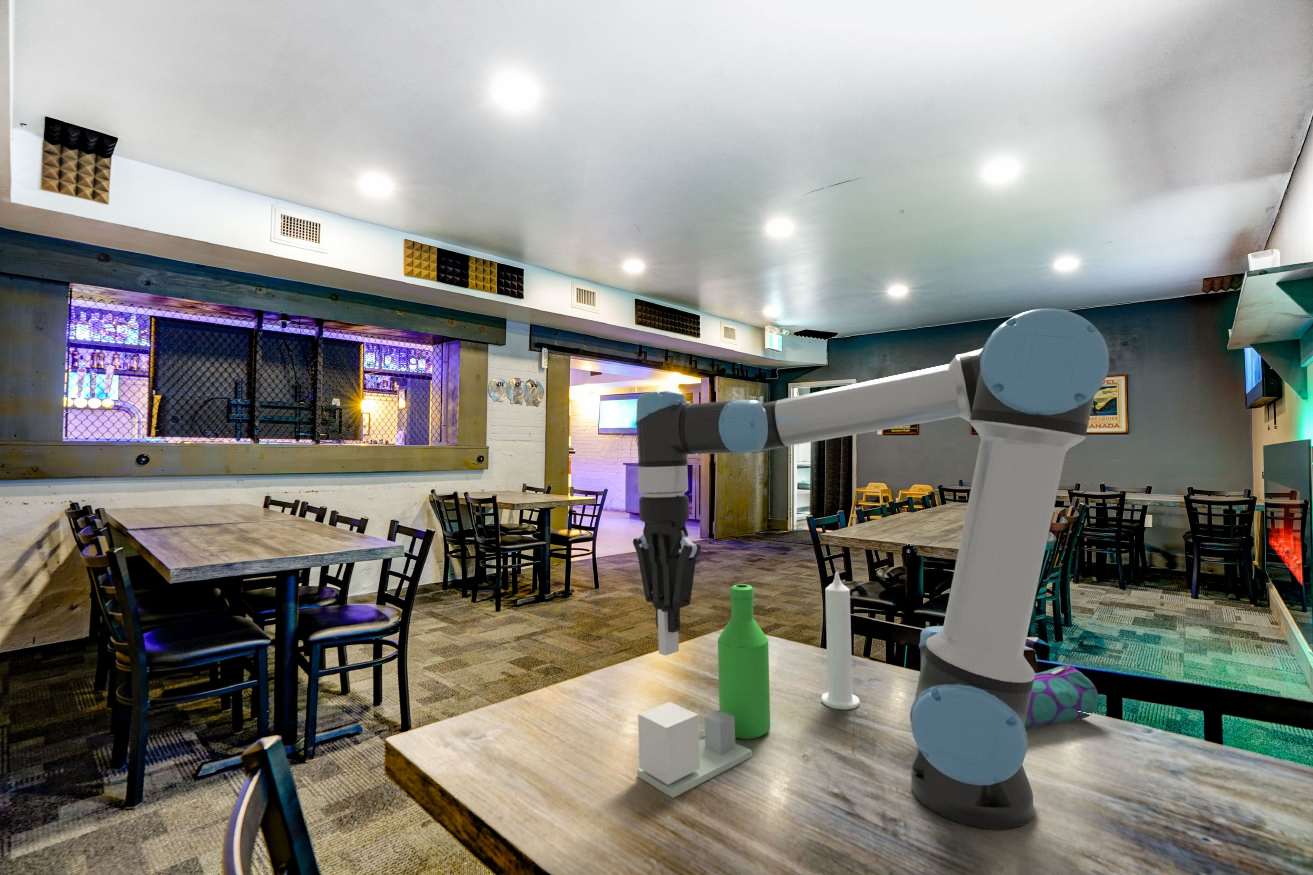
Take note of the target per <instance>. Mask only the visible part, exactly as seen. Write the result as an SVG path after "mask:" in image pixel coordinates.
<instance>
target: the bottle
mask: <svg viewBox="0 0 1313 875" xmlns="http://www.w3.org/2000/svg"><path fill="white" fill-rule="evenodd" d="M729 592H730V593H729V596H730V601H731V602H730V608H731V618H730V620H729V621H728V623H727V624H726V626H725V628H724V629H723V630H722V632H721V633H720V635H719V636H718V639H717V662H718V665H717V666H718V668H717V669H718V702H719V703H718V705H719V709H718V711H719V710H720V711H722V712H724V713H727V714H729V715H732V716H734V717H735V739H736V738H737V739H742V740H752V739H757V738H759V737H762V736H763V735H765V734H766V733H767V732H768V731H769V730H770V729H771V707H770V706H771V705H770V704H771V701H770V700H771V699H770V698H771V695H770V657H769V656H770V655H769V639H768V637H767V635H766V634H765V633H764V631H763V629H761V627H760V625H759V624H758V623H757V621H756V620H755V617H754V597H755V592H754V588H753V586H751V585H749V584H743V583H742V584H735V585H732V586H731V587H730V591H729Z"/></svg>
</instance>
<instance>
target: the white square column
mask: <svg viewBox="0 0 1313 875" xmlns="http://www.w3.org/2000/svg"><path fill="white" fill-rule="evenodd" d="M637 715H638V716H637V718H638V719H637V720H638V723H637V724H638V725H637V726H638V763H639V764H638V767H639V768H640V769H642V770H644V771H646V772H647V773H649V774H651V775H652V776H654V777H656V778H657V779H659V780H661V781H662V782H664V783H666V784H667V785H668V784H670V783H672V782H674V781H676V780H678V779H680V778H682V777H684V776H686V775H688V774H690V773H692V772H694V771H696V770H698V769H700V760H699V741H700V725H699V724H700V723H699V722H700V720H699V718H700V717H699V714H698V713H696V712H693V711H691V710H689V709H687V708H684V707H682V706H679V705H678V704H675V703H673V702H671V701H668V702H666V703H662V704H661V705H658V706H656V707H653V708H649V709H648V710H646V711H642V712H639V713H638V714H637ZM639 768H638V769H639Z"/></svg>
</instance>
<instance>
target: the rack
mask: <svg viewBox="0 0 1313 875" xmlns="http://www.w3.org/2000/svg"><path fill="white" fill-rule="evenodd" d="M752 757H753V754H752V750H751V749H750V748H748V747H745V746H743V745H741V744H739V743H736V737H735V717H734V716H732V715H729V714H727V713H724V712H722V711H720V710H719V709H718V710H717V711H715V712H711V713H709V714H706V715H705V716H704V738H703V739H699V760H700V769H698V770H696V771H694V772H692V773H690V774H688V775H686V776H684V777H682V778H680V779H678V780H676V781H674V782H672V783H670V784H668V785H667V784H666V783H664V782H662V781H661V780H659V779H657V778H656V777H654V776H652V775H651V774H649V773H647V772H646V771H644V770H642V769H640V768H637V769H636V772H637V774H636V775H637V777H638V778H639V779H641V780H643V781H644V782H647V783H648V785H649V784H650V785H652V786H653V787H655V788H656V789H658V790H659V791H661V792H662V793H665V794H666V795H667V796H669V797H670V798H671V799H674V798H676V797H678V796H680V795H681V794H684V793H685V792H688V791H689V790H691V789H693V788H695V787H697V786H699V785H701V784H703V783H704V782H707V781H708V780H710V779H712V778H714V777H716V776H719V775H720V774H723V773H724V772H726V771H727V770H730V769H732V768H733V767H735V766H737V765H739V764H741V763H743V762H745V761H746V760H749V759H751V758H752Z"/></svg>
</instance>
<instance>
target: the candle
mask: <svg viewBox="0 0 1313 875" xmlns="http://www.w3.org/2000/svg"><path fill="white" fill-rule="evenodd" d="M824 590H825V595H824V596H825V623H826V624H825V627H826V631H825V632H826V654H827V655H826V657H827V659H826V660H827V661H826V663H827V664H826V665H827V669H826V670H827V692H824V693H823V694H821V696H820V697H821V702H822V703H823V704H824V705H825V706H826V707H829V708H831V709H835V710H836V709H837V710H842V711H843V710H847V711H848V710H853V709H856V708H858V707H859V706H860V699H859V697H858V696H857V695H855V694H853V666H852V665H853V663H852V658H853V657H852V634H851V633H852V630H851V626H852V625H851V597H850V596H851V594H850V593H851V592H850V588H849V587H847V586H846V585H845V584H843V583H842V580H841V578H840V573H839V571H836V572H835V573H834V578H833V581H832V583H830V584H829V585H828V586H827V587H825V589H824Z"/></svg>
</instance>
